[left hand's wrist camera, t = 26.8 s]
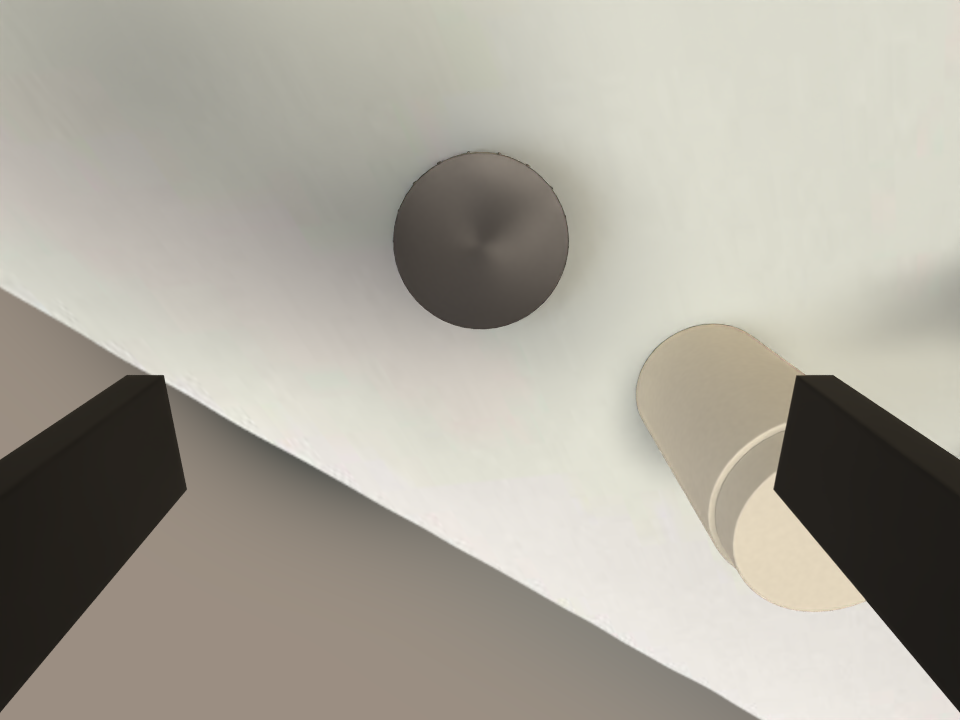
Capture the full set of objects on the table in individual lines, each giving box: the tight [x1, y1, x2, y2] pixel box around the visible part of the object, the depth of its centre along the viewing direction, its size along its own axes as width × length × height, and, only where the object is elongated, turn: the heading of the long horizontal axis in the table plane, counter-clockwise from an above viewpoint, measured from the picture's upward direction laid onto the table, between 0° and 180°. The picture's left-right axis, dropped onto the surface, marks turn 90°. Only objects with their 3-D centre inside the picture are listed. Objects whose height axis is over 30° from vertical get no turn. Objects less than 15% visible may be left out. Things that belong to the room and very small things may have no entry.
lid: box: [393, 151, 569, 329], centre depth 36 cm, size 10×11×2 cm
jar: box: [636, 324, 866, 612], centre depth 34 cm, size 10×10×16 cm
